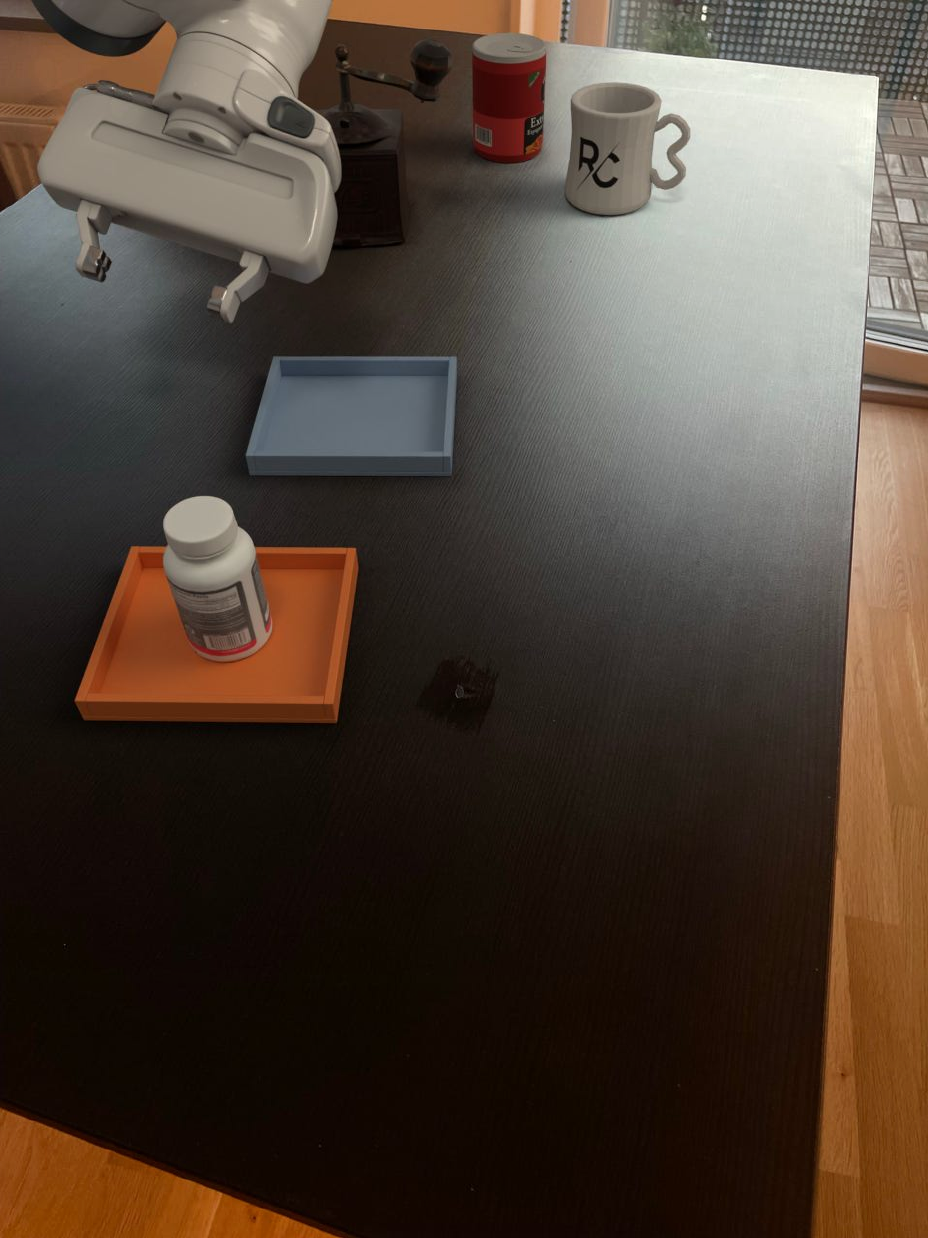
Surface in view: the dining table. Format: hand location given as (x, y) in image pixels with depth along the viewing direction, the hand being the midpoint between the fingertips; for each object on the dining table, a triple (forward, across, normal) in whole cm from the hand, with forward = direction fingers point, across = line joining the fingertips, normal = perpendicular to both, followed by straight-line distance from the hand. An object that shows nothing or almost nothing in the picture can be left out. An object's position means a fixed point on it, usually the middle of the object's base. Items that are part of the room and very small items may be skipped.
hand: (153, 296), depth 68 cm
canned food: (-43, +14, +42) cm, 62 cm away
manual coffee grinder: (-25, +5, +32) cm, 41 cm away
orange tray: (+20, +13, -1) cm, 24 cm away
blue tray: (+1, +14, +12) cm, 18 cm away
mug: (-37, +28, +34) cm, 57 cm away
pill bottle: (+20, +13, -2) cm, 24 cm away
